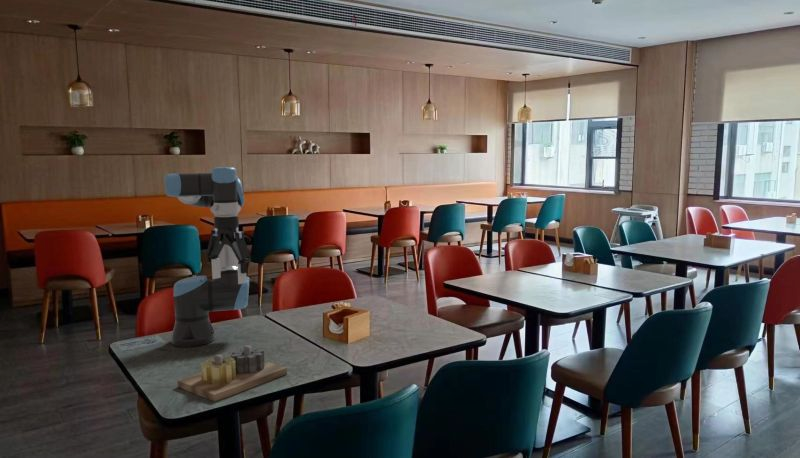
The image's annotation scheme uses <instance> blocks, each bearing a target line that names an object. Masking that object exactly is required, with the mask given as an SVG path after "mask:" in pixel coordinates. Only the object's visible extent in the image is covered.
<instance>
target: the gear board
mask: <svg viewBox="0 0 800 458" xmlns="http://www.w3.org/2000/svg"><path fill="white" fill-rule="evenodd" d="M213 357H214V358H213V359H214V360H215V365H218V364H223V363H222V357H223V355H222V354H216V355H214V356H213ZM230 357H231V358H234V361H236V374H237V377H236V379H232V382H229V383H220V385H213V384H211V383H210V384H204V383H203V381H202V373H201V372H199V373H195V374H192V375H189V376H187V377H183V378H180V379H178V380H177V388H180V389H182V390H185V391H187V392H188V393H192V394H195V395H196V396H200V397H202V398H205V399H207V400H210V401H212V402H213V403H215V402H218V401H222V400H223V399H227V398H228V397H231V396H233V395H236V394H238V393H242V392H244V391H247V390H249V389H251V388H254V387H256V386H260V385H262V384H265V383H268V382H270V381H272V380H275V379H277V378H280V377H283V376H285V375H288V371H287V369H288V367H285V366H282V365H279V364H275V363H272V362H268V361H266V360H265V350H263V349H259V348H258V347H252V345H250V344H249V345H248V344H247V345H245V346H244V345H243V348H240V350H234V351H232V352H231V355H230Z"/></svg>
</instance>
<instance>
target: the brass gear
mask: <svg viewBox="0 0 800 458" xmlns="http://www.w3.org/2000/svg"><path fill="white" fill-rule="evenodd" d="M222 363H223V364H218V365H215V360H214V358H211V357H210V358H208V359H206V360H205V361H202V362H201V365H200V371H201V372H200V373H202V381H203V383H204V384H210V383H211V384H213V385H220V383H229V382H232V379H236V377H237V374H236V361H234V358H231V356H230V357H227V358H226V357H225V356H222Z"/></svg>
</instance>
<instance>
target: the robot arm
mask: <svg viewBox="0 0 800 458" xmlns="http://www.w3.org/2000/svg"><path fill="white" fill-rule="evenodd" d="M164 184H165V187H164V188H165V194H166V196H167V197H173V198H174V197H175V198H177V199H178V201H180V202H181V203H182V204H185V205H187V206H192V207H195V208H196V207H197V208H210V212H211V213H212V214H213V215H214V218H213V225H214V229H211V230H210V239H209V241H208V246H207V249H206V254H205V256H206V257H208V258H209V259H210V262H211V263H210V265H211V266H210V267H211V276H212V279H208V277H207V276H206V275H195V276H190V277H189V276H188V277H186V278H182V279H180V280H178V281H176V282H175V283H174V285H173V295H172V296H173V299H174V301H173V302H174V320H175V322H174V327H173V330H172V334H171V338H170V339H171V341H170V342H171V344H172V345H173V346H175V347H178V348H179V347H180V348H181V347H183V348H190V347H198V346H203V345H207V344H210V343H212V342H213V341H215V340H216V335H215V334H216V333H215V330H214V327H213V325H212V323H211V320H210V313H209V312H219V311H220V312H221V311H222V312H223V311H236V310H243V309H246V308H247V306H248V304H249V293H250V292H249V289H250V277H248V276H247V272H248V267H247V264H248V263H249V262H251V261H252V257H251V255H250V252H249V249H248V246H247V243H246V240H245V235H244V234H245V233H244V231H239V225H240V223H239V216H238V214H239V213H240V212H241V211H242V207H244V206H245V196H244V189H243V186H242V185H243V184H242V180H241V179H240V178H239V177H238V176H237V169H236V168H235V167H233V166H230V167H229V166H227V167H225V166H224V167H223V166H221V167H218V166H217V167H213V168H212V170H211V172H200V173H199V172H198V173H195V172H194V173H189V172H188V173H177V172H174V173H168V174H165V176H164Z"/></svg>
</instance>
